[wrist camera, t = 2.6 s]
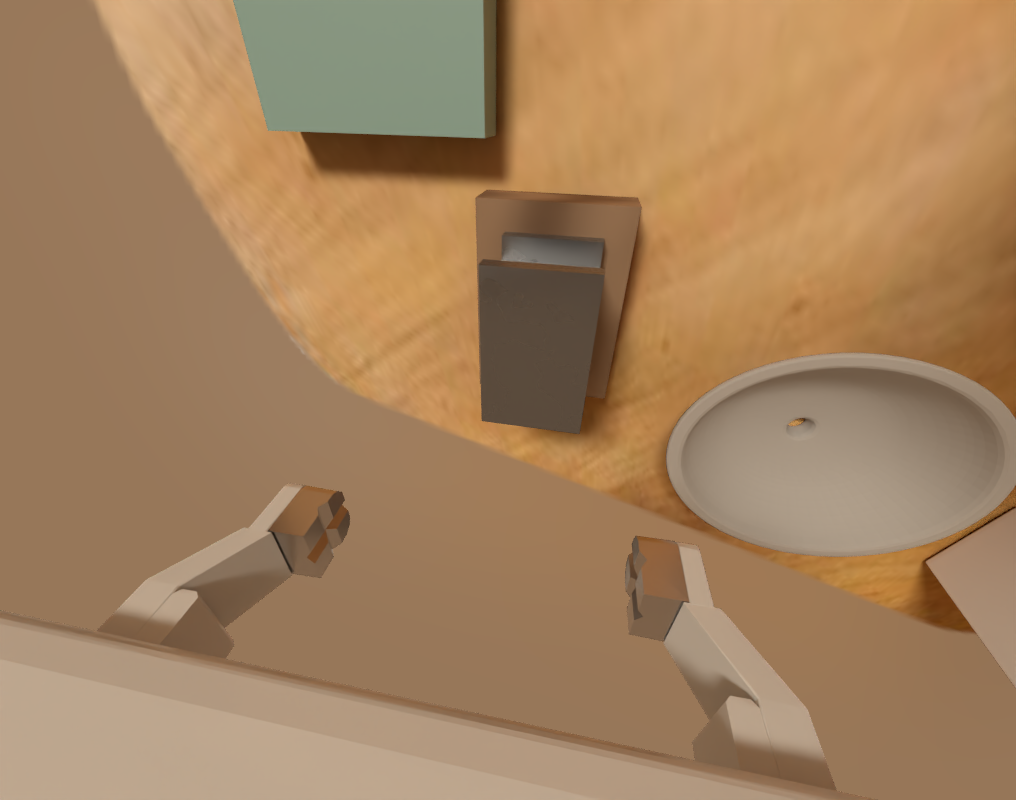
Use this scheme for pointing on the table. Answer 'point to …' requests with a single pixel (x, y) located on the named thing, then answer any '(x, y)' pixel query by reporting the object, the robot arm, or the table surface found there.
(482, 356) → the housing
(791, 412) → the dish
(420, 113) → the stand
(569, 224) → the stand
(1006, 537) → the milk carton
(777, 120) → the table surface
